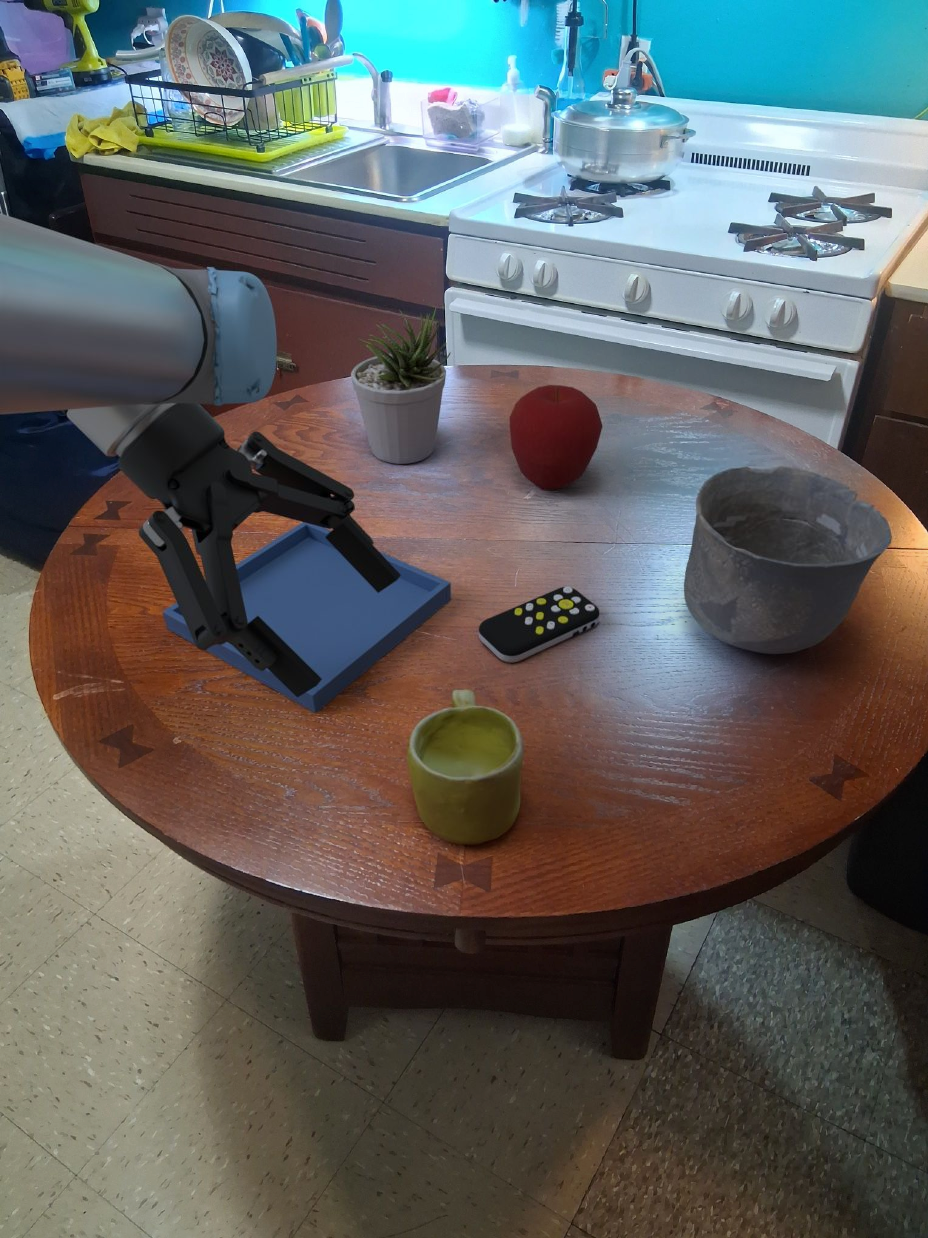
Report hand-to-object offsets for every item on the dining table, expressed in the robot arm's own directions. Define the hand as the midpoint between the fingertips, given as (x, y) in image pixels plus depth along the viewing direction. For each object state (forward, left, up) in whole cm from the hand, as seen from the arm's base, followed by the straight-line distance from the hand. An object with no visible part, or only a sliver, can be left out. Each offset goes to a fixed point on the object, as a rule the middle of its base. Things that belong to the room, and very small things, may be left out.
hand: (352, 633), depth 69 cm
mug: (+2, -10, -15) cm, 18 cm away
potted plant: (+46, +33, -15) cm, 59 cm away
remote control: (+24, -3, -15) cm, 29 cm away
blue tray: (+12, +18, -15) cm, 27 cm away
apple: (+51, +12, -15) cm, 55 cm away
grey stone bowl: (+37, -22, -15) cm, 46 cm away
